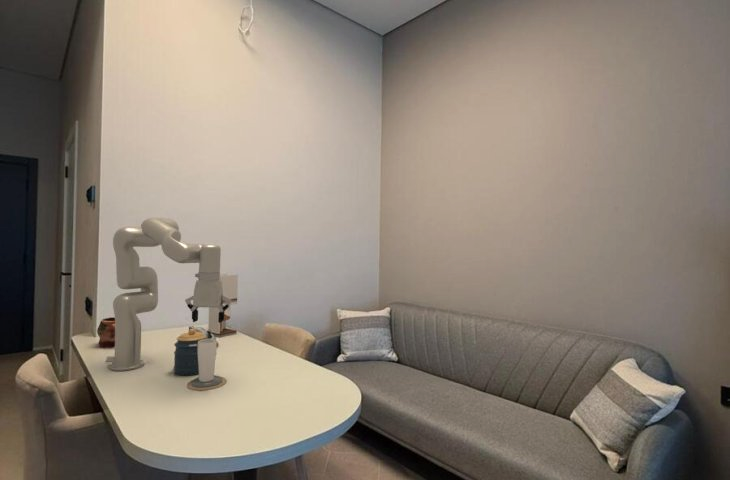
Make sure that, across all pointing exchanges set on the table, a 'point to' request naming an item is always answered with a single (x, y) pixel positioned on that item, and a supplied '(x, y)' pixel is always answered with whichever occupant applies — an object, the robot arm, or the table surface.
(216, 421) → the table surface
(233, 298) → the notched white tower
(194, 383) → the round coaster
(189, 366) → the canister
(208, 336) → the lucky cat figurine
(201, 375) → the drinking glass
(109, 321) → the decorative planter
